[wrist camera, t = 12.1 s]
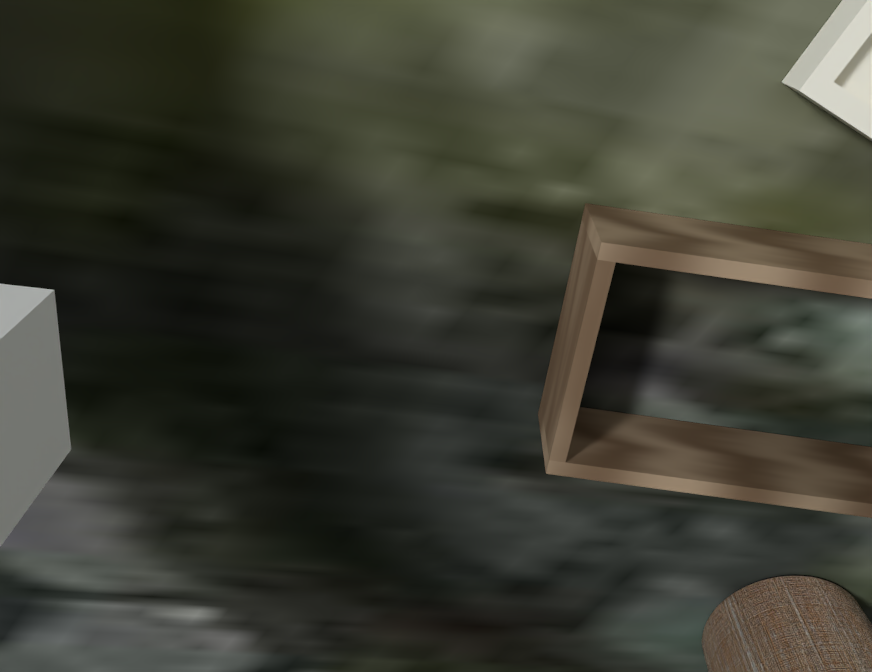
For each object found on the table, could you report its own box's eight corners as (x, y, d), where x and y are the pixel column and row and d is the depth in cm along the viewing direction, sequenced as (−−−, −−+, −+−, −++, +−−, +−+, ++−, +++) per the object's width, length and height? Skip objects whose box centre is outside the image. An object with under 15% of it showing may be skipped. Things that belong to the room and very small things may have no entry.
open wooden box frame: (538, 413, 45) (546, 473, 40) (585, 203, 39) (601, 242, 34) (886, 461, 45) (936, 526, 40) (980, 260, 40) (1052, 306, 35)
